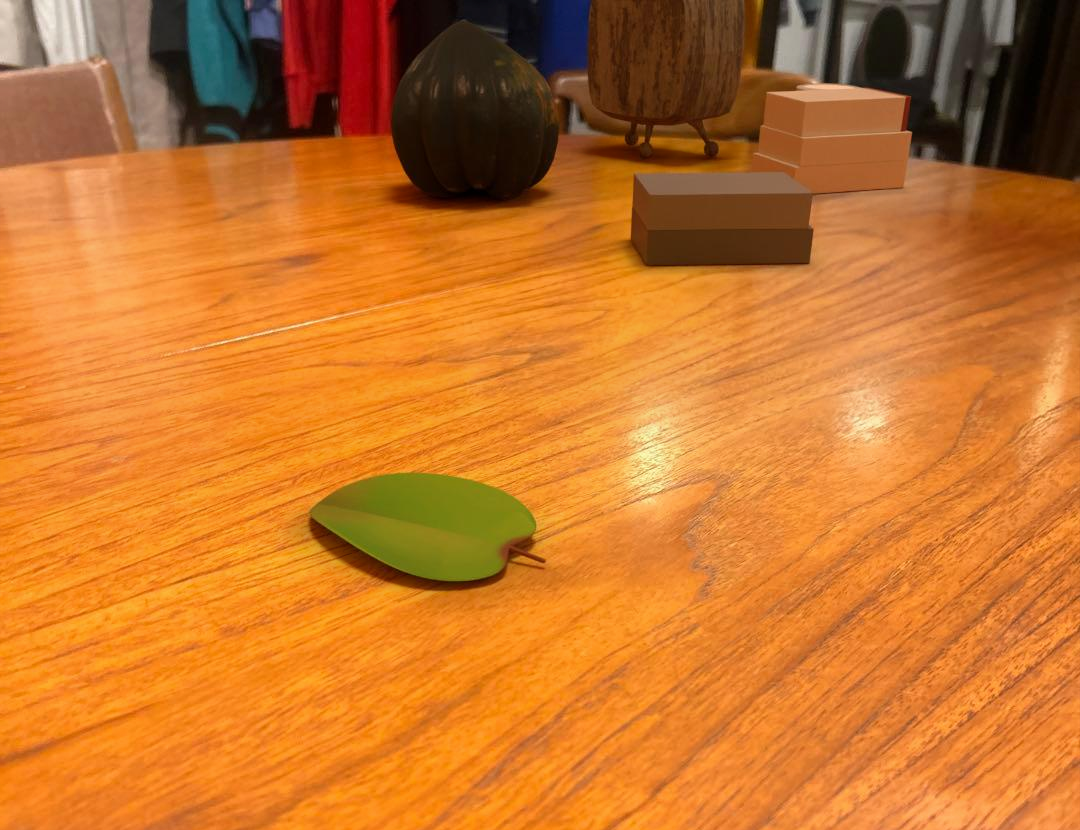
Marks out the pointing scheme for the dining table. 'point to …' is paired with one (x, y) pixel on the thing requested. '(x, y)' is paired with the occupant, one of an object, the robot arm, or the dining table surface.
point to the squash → (473, 117)
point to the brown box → (721, 218)
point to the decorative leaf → (429, 524)
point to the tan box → (836, 111)
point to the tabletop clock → (665, 62)
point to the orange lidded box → (835, 159)
